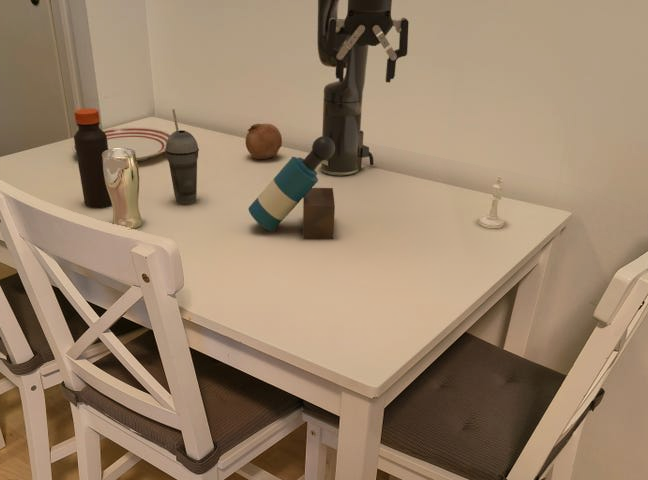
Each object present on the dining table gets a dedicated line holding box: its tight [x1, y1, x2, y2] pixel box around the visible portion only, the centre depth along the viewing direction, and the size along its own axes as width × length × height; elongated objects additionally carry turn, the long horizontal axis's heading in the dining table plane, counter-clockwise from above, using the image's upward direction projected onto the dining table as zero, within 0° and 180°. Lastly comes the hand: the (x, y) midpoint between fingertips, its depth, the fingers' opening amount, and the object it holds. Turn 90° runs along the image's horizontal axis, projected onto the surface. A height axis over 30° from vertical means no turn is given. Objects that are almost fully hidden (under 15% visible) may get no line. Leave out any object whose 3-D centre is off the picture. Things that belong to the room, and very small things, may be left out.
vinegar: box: [73, 107, 112, 209], centre depth 148 cm, size 7×7×20 cm
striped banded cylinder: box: [248, 135, 335, 232], centre depth 136 cm, size 17×7×19 cm, turn 88°
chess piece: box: [478, 175, 505, 229], centre depth 139 cm, size 5×5×10 cm
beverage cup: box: [164, 108, 200, 206], centre depth 149 cm, size 7×7×20 cm
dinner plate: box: [71, 126, 172, 163], centre depth 184 cm, size 27×27×3 cm
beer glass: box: [102, 148, 143, 230], centre depth 139 cm, size 7×7×15 cm
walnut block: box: [302, 187, 336, 240], centre depth 139 cm, size 6×10×7 cm, turn 178°
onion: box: [245, 123, 283, 160], centre depth 179 cm, size 10×9×10 cm
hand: (364, 81), depth 125 cm, fingers open, 8 cm apart
